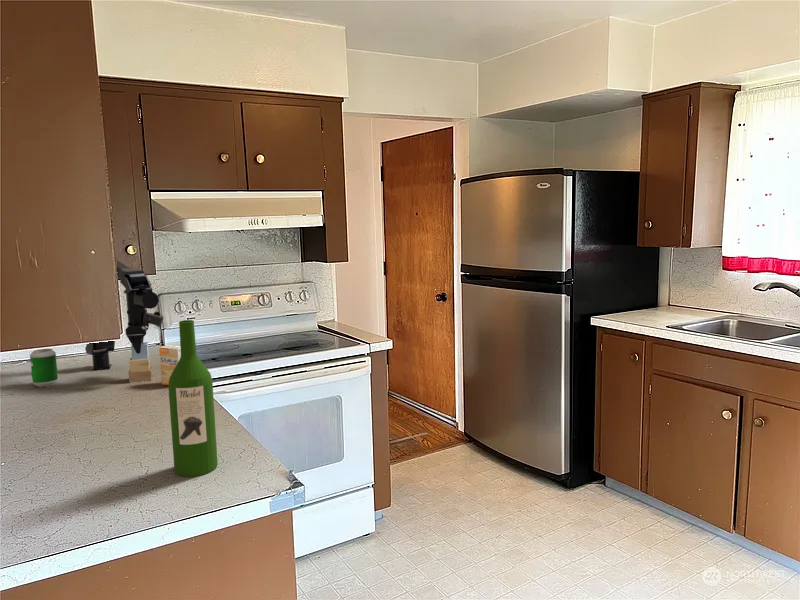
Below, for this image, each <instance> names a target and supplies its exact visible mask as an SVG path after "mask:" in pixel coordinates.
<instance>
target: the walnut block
mask: <svg viewBox="0 0 800 600" xmlns="http://www.w3.org/2000/svg"><path fill="white" fill-rule="evenodd" d="M153 377H154V373H153V366H151V365H150V369H149V370H148V371H138V372H130V370H129V371H128V383H129V382H138V383H146V382H145V381H148V382H152V381H151V380H153ZM142 381H144V382H142Z"/></svg>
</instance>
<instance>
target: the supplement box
mask: <svg viewBox="0 0 800 600" xmlns="http://www.w3.org/2000/svg"><path fill="white" fill-rule="evenodd" d="M158 348H159V364H160V365H159V367H160V380H161V381H160V382H161V385H164V386H165V385H166V386H168V384H169V378H170V376H171V374H172V372H173V370H174V369H175V367H176V365H177V363H178V362H179V360H180V357H181V348H180V345H173V344H165V345H162V346H159V347H158Z"/></svg>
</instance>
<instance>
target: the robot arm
mask: <svg viewBox="0 0 800 600" xmlns="http://www.w3.org/2000/svg"><path fill="white" fill-rule="evenodd" d="M117 272H118V277H117V278H119V280H120V281H119V282H120V284H121V285H122V286H123V287H124V288H125V289H124V290H123V294H125V296H126V315H127V321H128V322H127V326H126V328H125V330H124V331H125V336H126V338H128V341H129V342H130V344H131V345H132V346H133V347H134V349H135V351H136V353H137V354H139V353H140V352H141V344H142V343H143V342H144V339H145V336H146V335H147V332H148V330H149V328H150V327H149V326H150V324H151V325H154V326H155V327H161V328H162V323H163V320H164V316H163V315H161V312H160V311H157V310H156V311H154V312H151V313H150V312H148V309H155V308H156V307H157V306H158V304H159V301H160V300H159V296H158V294H157V293H155V292H154V291H153V287H152V283H151V281H150V280H149V278H148V276H147V274H146V272H145V271H144V270H142V269H140V268H139V269H138V268H131V267H129V266H127V265H126V264H124V263H123V262H121V261H119V260H118V259H117ZM115 344H116V340H115V341H108V342H99V343H89V344H87V343H86V346H85V353H86V354H87V355H90V356H92V367H91V369H90V371H98V370H99V371H101V370H109V369H111V367H112V365H113V364H112V363H110V352H114V351H115Z"/></svg>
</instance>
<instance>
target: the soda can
mask: <svg viewBox="0 0 800 600" xmlns="http://www.w3.org/2000/svg"><path fill="white" fill-rule="evenodd" d="M29 359H30V360H29V361H30V369H31V370H30V371H31V379H32V384H33V385H35V386H36V387H37V386H38V388H39V387H40V388H42V387H43V386H45V387H50V385H51V386H54V385H56V384H55V383H57V382H58V381H59V375H58V365H57V353H56V351H55V350H54V349H52V348H43V349H42V348H41V349H36V350H33V351H32V352H31V353H30V354H29ZM53 384H54V385H53ZM43 388H44V387H43Z"/></svg>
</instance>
